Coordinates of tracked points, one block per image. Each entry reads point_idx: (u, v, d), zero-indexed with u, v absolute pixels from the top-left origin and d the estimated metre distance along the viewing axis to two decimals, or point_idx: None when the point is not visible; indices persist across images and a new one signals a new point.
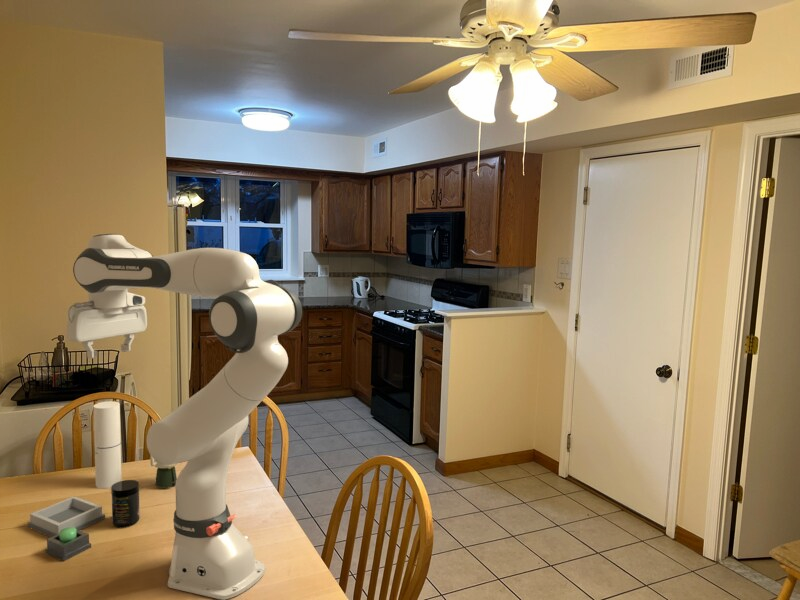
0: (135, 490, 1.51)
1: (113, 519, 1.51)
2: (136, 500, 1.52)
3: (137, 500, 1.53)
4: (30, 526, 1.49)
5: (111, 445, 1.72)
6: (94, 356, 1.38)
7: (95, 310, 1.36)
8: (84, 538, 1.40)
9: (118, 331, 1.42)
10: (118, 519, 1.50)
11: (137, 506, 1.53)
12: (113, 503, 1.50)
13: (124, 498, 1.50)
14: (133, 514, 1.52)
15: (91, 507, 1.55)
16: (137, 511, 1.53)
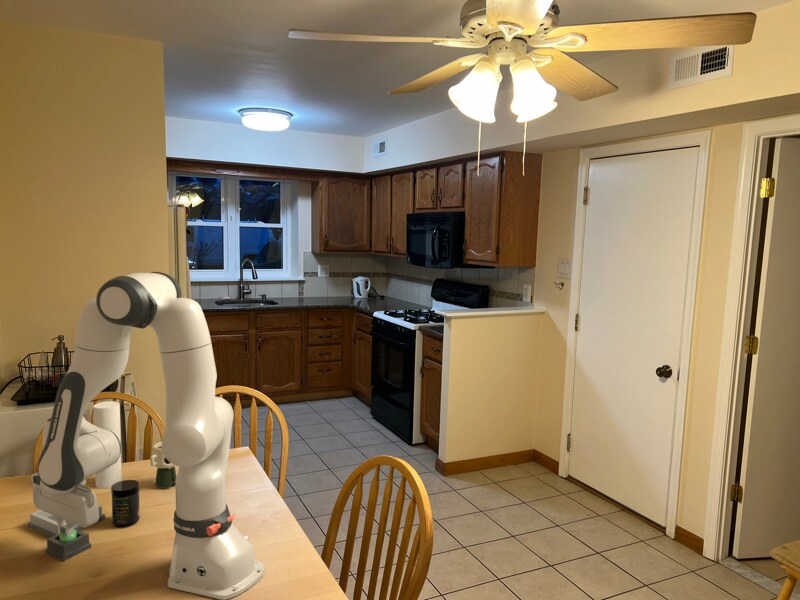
0: (135, 490, 1.51)
1: (113, 519, 1.51)
2: (136, 500, 1.52)
3: (137, 500, 1.53)
4: (30, 526, 1.49)
5: None
6: None
7: None
8: (84, 538, 1.40)
9: None
10: (118, 519, 1.50)
11: (137, 506, 1.53)
12: (113, 503, 1.50)
13: (124, 498, 1.50)
14: (133, 514, 1.52)
15: None
16: (137, 511, 1.53)
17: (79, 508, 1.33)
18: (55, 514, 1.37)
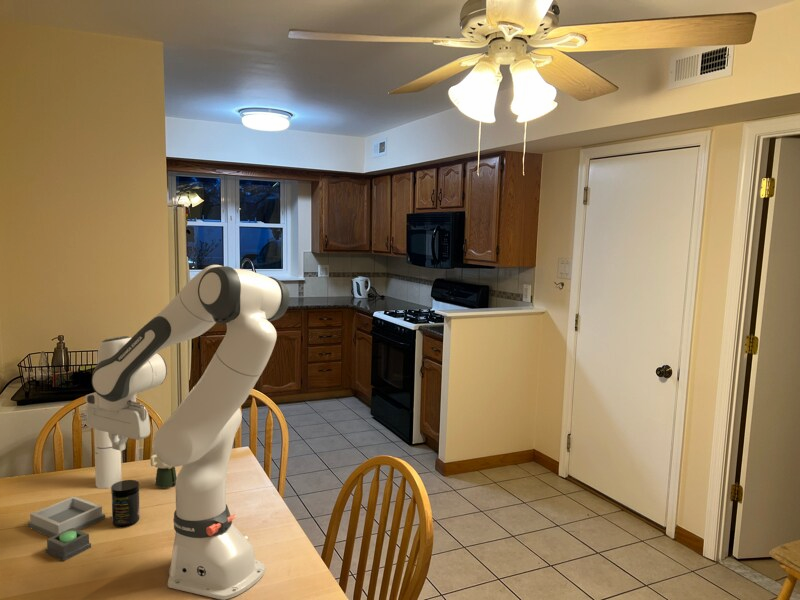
0: (135, 490, 1.51)
1: (113, 519, 1.51)
2: (136, 500, 1.52)
3: (137, 500, 1.53)
4: (30, 526, 1.49)
5: (111, 445, 1.72)
6: None
7: None
8: (84, 538, 1.40)
9: None
10: (118, 519, 1.50)
11: (137, 506, 1.53)
12: (113, 503, 1.50)
13: (124, 498, 1.50)
14: (133, 514, 1.52)
15: (91, 507, 1.55)
16: (137, 511, 1.53)
17: (133, 421, 1.44)
18: (109, 430, 1.48)
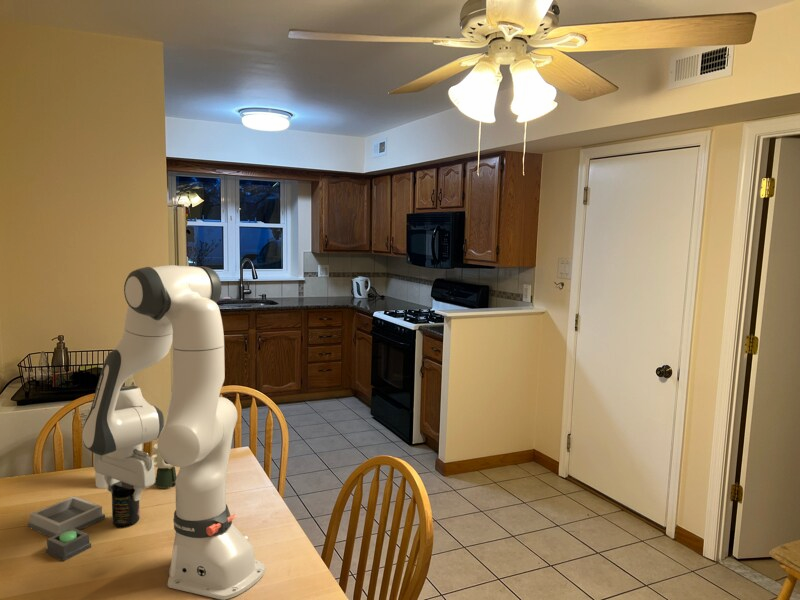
0: None
1: (113, 519, 1.51)
2: None
3: None
4: (30, 526, 1.49)
5: None
6: None
7: None
8: (84, 538, 1.40)
9: None
10: (118, 519, 1.50)
11: (137, 506, 1.53)
12: (113, 503, 1.50)
13: (124, 498, 1.50)
14: (133, 514, 1.52)
15: (91, 507, 1.55)
16: (137, 511, 1.53)
17: (139, 471, 1.47)
18: (115, 477, 1.51)
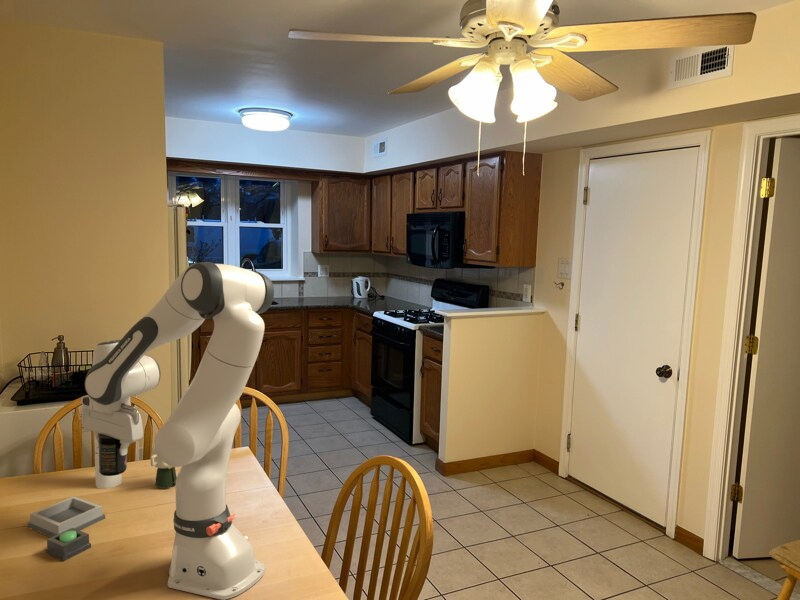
0: None
1: (99, 467, 1.50)
2: None
3: None
4: (30, 526, 1.49)
5: None
6: None
7: None
8: (84, 538, 1.40)
9: None
10: (105, 468, 1.49)
11: (124, 455, 1.51)
12: (100, 451, 1.49)
13: (111, 446, 1.48)
14: (120, 463, 1.50)
15: (91, 507, 1.55)
16: (124, 460, 1.51)
17: (126, 425, 1.45)
18: (103, 432, 1.50)
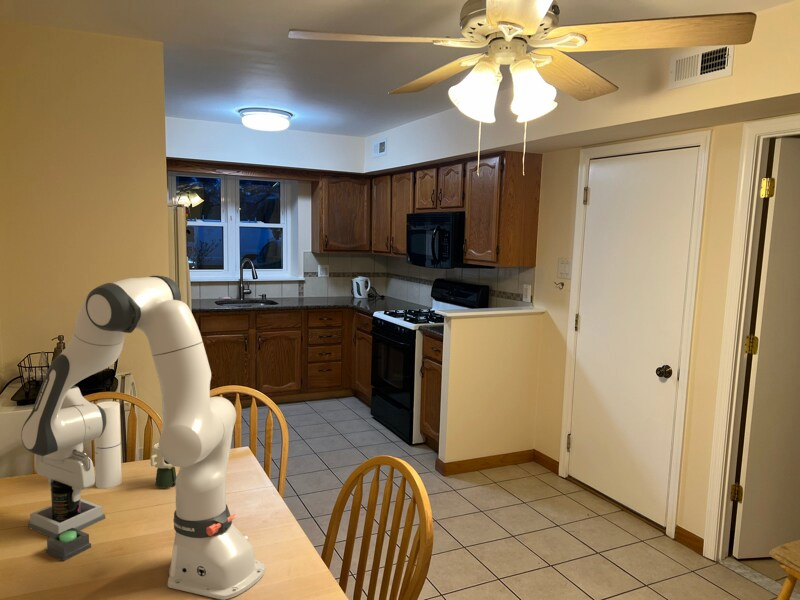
0: None
1: (52, 516, 1.50)
2: None
3: None
4: (30, 526, 1.49)
5: (111, 445, 1.72)
6: None
7: None
8: (84, 538, 1.40)
9: None
10: (57, 516, 1.49)
11: (77, 503, 1.51)
12: (52, 500, 1.49)
13: (63, 495, 1.48)
14: (72, 511, 1.50)
15: (91, 507, 1.55)
16: (77, 508, 1.51)
17: (77, 472, 1.45)
18: (55, 478, 1.50)
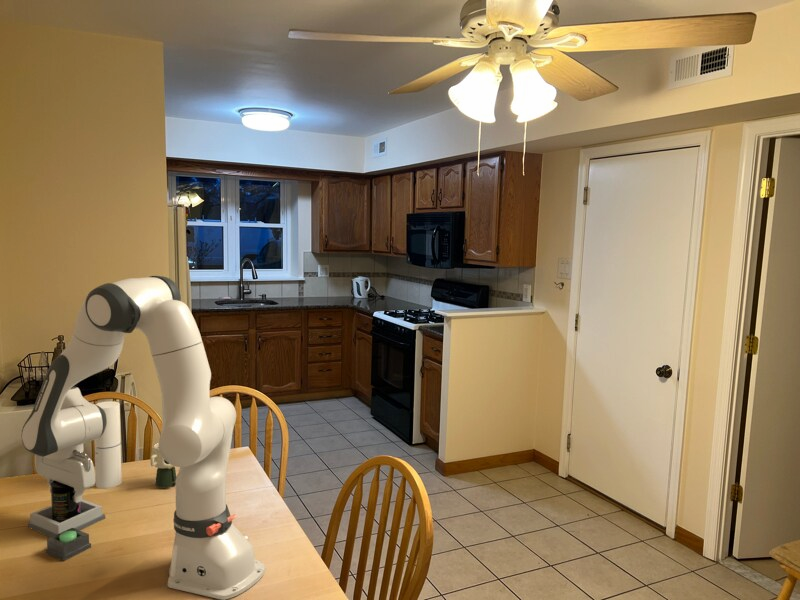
0: None
1: (52, 516, 1.50)
2: None
3: None
4: (30, 526, 1.49)
5: (111, 445, 1.72)
6: None
7: None
8: (84, 538, 1.40)
9: None
10: (57, 516, 1.49)
11: (77, 503, 1.51)
12: (52, 500, 1.49)
13: (63, 495, 1.48)
14: (72, 511, 1.50)
15: (91, 507, 1.55)
16: (77, 508, 1.51)
17: (77, 472, 1.45)
18: (56, 479, 1.50)
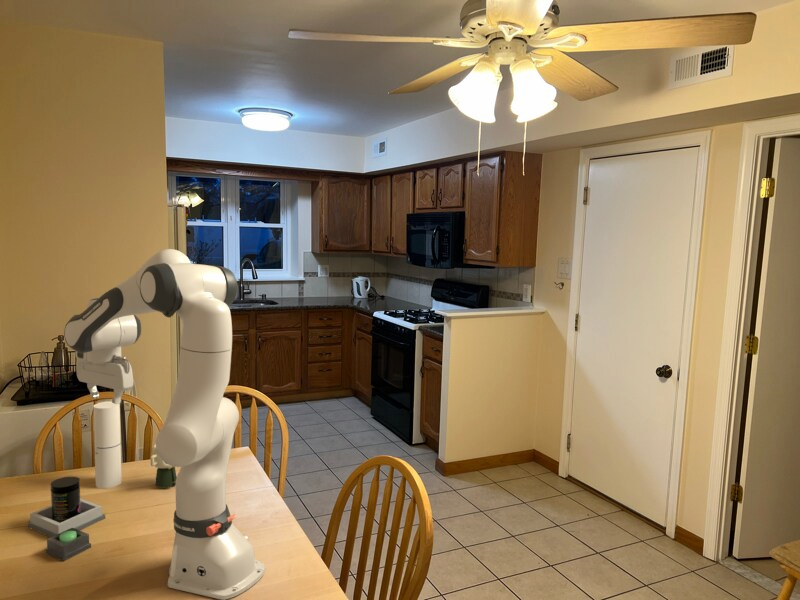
0: (74, 487, 1.50)
1: (52, 516, 1.50)
2: (76, 496, 1.51)
3: (77, 497, 1.51)
4: (30, 526, 1.49)
5: (111, 445, 1.72)
6: None
7: None
8: (84, 538, 1.40)
9: None
10: (57, 516, 1.49)
11: (77, 503, 1.51)
12: (52, 500, 1.49)
13: (63, 495, 1.48)
14: (72, 511, 1.50)
15: (91, 507, 1.55)
16: (77, 508, 1.51)
17: (117, 374, 1.58)
18: (96, 383, 1.62)
